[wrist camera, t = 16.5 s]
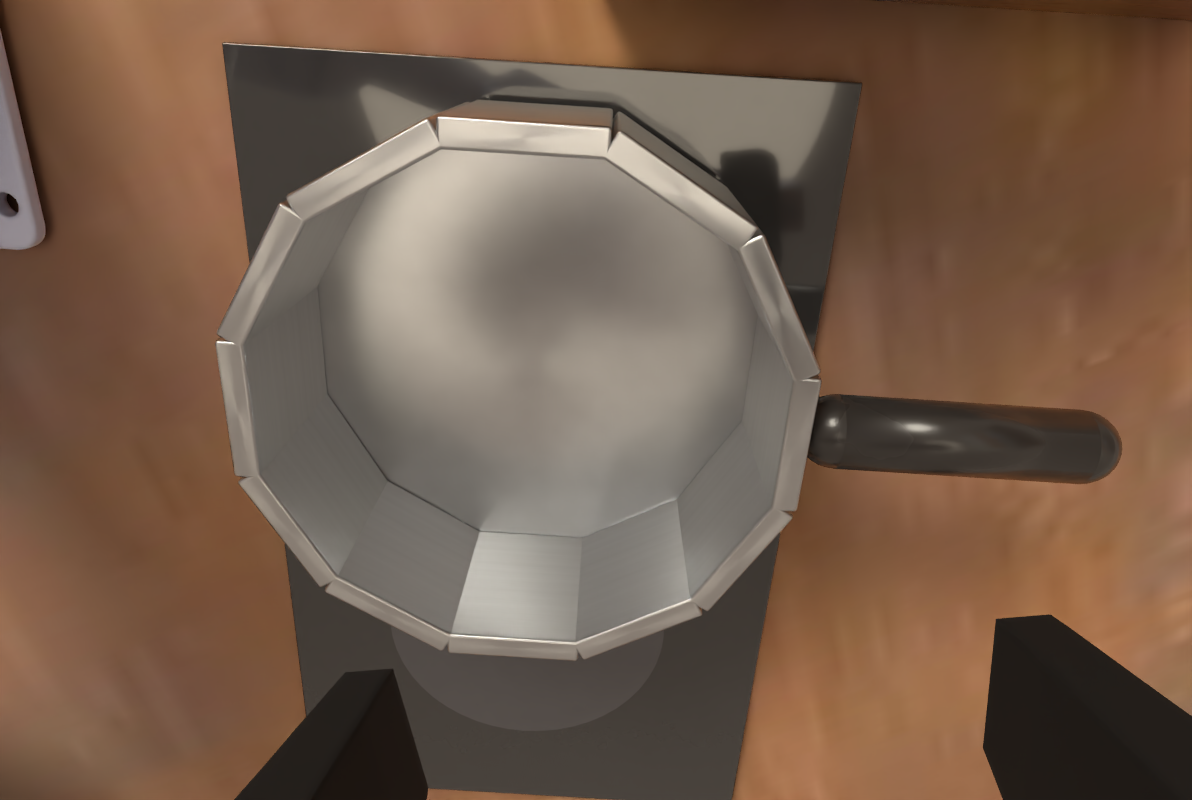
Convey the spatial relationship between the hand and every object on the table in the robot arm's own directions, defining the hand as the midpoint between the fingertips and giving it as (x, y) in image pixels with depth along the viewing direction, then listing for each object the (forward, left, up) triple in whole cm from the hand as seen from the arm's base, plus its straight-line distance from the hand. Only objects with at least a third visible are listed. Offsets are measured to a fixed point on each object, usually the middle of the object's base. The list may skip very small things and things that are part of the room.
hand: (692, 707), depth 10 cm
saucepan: (-1, 0, -10) cm, 10 cm away
